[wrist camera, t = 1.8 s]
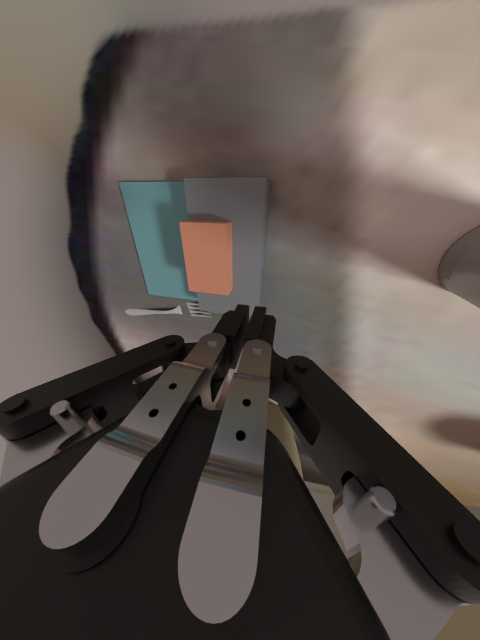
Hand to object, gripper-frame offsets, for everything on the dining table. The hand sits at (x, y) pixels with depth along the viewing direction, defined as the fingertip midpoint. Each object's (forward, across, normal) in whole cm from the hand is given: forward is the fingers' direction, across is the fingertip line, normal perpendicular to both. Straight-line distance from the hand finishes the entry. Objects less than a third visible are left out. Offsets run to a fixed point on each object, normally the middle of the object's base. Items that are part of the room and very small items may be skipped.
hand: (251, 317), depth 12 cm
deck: (+19, +6, 0) cm, 20 cm away
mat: (+19, +18, 0) cm, 26 cm away
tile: (+14, +8, 0) cm, 16 cm away
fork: (+20, +22, +13) cm, 33 cm away
